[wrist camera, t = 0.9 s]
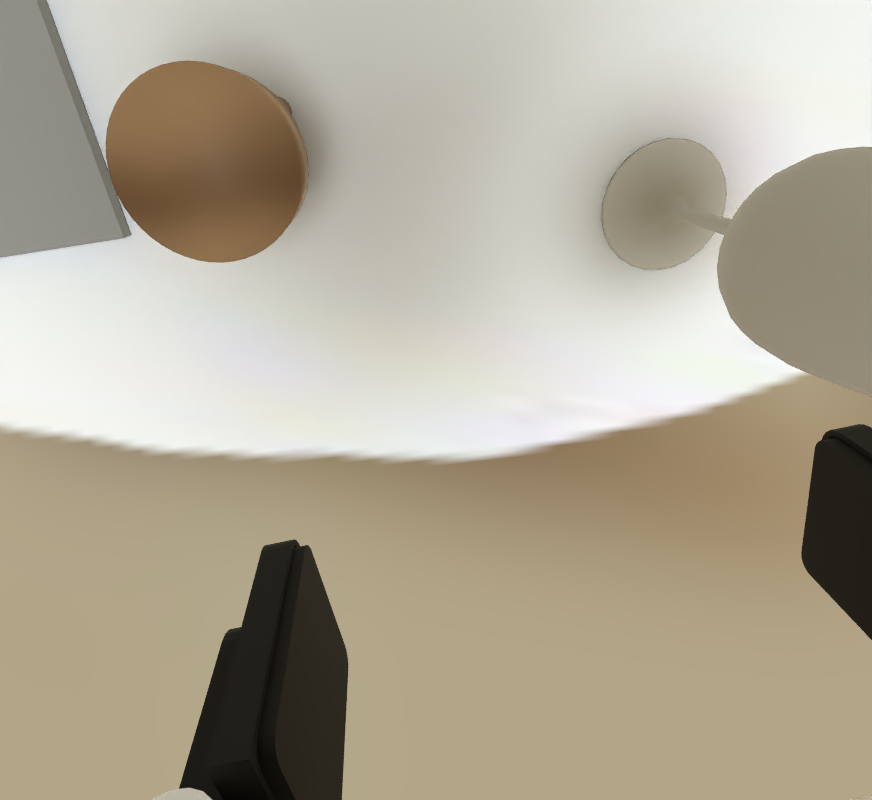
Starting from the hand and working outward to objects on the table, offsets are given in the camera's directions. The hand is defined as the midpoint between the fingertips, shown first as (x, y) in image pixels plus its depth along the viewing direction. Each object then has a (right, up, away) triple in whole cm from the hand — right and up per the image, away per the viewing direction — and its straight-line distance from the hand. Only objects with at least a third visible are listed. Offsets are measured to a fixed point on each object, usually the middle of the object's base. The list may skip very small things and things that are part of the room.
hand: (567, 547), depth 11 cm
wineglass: (+11, +14, +23) cm, 29 cm away
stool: (-12, +16, +20) cm, 28 cm away
